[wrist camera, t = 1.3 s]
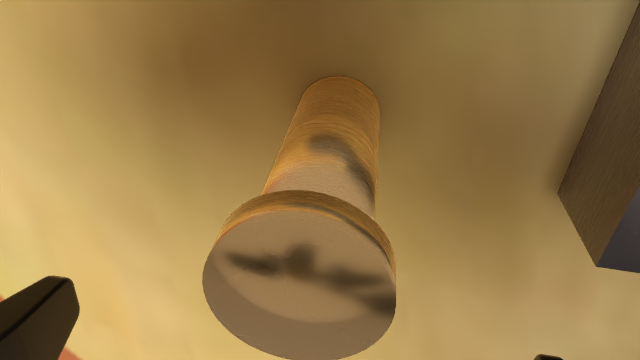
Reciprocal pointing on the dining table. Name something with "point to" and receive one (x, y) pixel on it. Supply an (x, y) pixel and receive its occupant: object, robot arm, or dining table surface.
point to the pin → (311, 238)
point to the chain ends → (610, 166)
